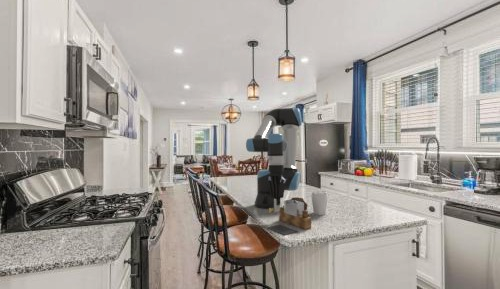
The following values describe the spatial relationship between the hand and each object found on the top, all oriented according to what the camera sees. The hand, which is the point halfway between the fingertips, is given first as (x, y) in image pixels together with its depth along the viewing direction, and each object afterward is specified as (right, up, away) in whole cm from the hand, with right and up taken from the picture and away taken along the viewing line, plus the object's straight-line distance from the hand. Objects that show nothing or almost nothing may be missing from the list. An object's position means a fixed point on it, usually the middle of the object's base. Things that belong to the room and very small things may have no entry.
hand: (277, 211), depth 132 cm
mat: (+1, -6, -11) cm, 12 cm away
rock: (+12, -6, +13) cm, 19 cm away
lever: (0, 0, +1) cm, 1 cm away
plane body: (+8, -6, -2) cm, 10 cm away
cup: (+26, -6, +18) cm, 32 cm away
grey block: (+8, -1, -1) cm, 8 cm away
